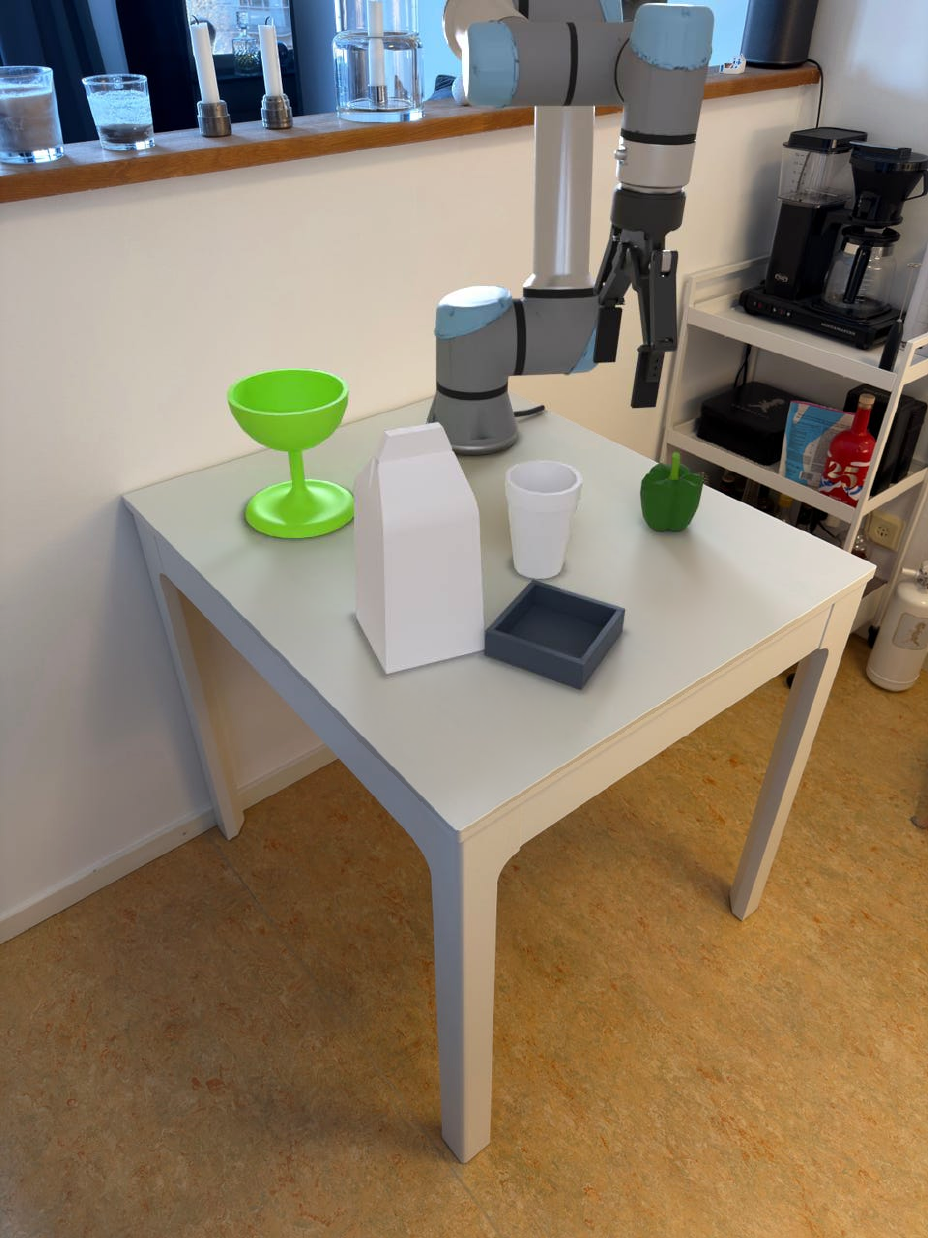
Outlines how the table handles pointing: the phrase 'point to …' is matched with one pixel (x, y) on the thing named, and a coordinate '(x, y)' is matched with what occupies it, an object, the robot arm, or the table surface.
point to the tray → (555, 633)
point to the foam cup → (541, 514)
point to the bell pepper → (670, 496)
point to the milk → (417, 551)
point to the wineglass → (293, 447)
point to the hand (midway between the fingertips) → (622, 383)
